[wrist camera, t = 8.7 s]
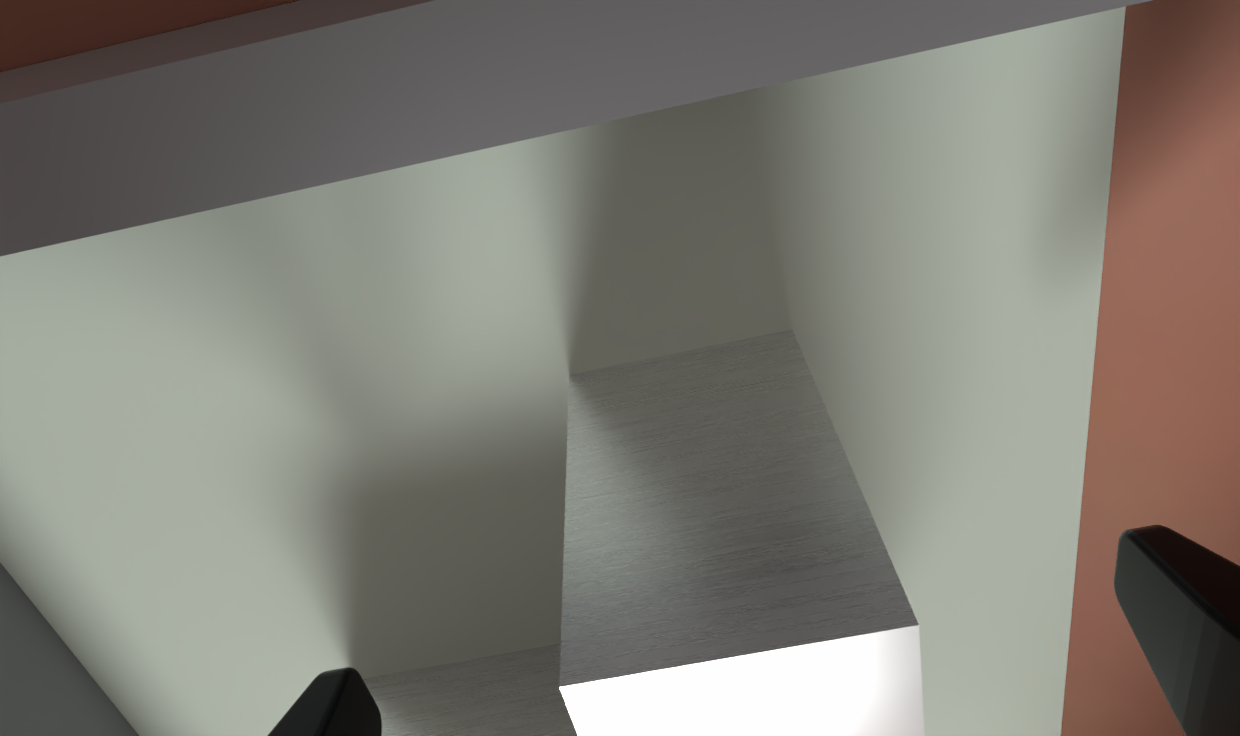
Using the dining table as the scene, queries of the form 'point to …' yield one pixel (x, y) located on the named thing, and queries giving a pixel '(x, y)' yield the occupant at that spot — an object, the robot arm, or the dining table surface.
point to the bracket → (699, 573)
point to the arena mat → (539, 379)
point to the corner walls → (378, 138)
